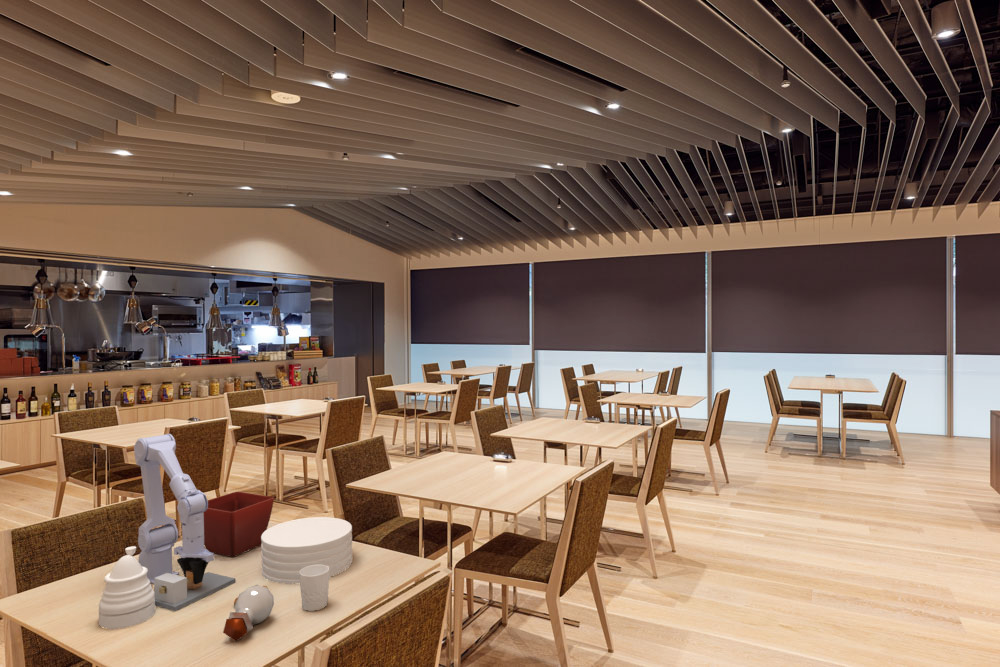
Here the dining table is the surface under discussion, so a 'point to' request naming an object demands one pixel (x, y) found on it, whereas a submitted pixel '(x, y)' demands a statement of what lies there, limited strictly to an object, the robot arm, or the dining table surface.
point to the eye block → (186, 589)
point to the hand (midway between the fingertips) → (194, 581)
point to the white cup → (314, 587)
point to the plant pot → (236, 522)
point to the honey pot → (126, 594)
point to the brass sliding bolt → (189, 582)
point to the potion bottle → (249, 611)
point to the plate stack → (305, 547)
